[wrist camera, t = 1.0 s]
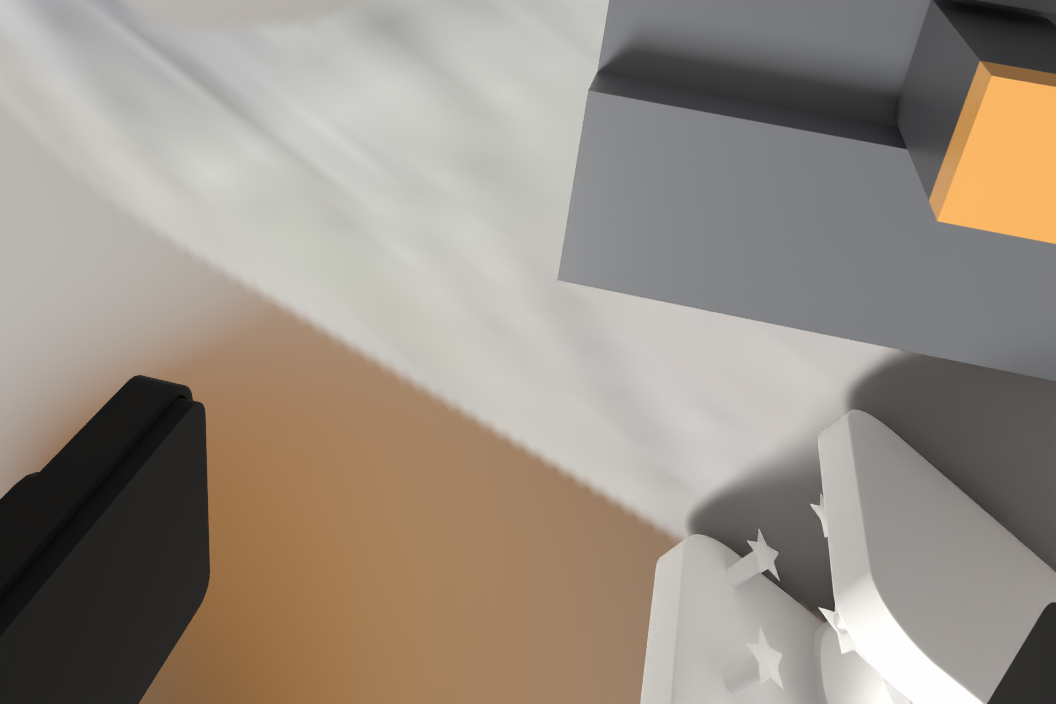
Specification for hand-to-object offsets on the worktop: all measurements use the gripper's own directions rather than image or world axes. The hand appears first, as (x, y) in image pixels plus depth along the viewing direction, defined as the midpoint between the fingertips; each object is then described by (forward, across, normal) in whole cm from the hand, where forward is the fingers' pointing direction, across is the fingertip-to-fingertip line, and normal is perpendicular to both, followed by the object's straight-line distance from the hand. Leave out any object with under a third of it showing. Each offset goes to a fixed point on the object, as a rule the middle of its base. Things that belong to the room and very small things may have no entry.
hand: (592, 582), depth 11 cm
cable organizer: (+23, -12, +18) cm, 32 cm away
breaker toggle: (+21, -8, -2) cm, 22 cm away
